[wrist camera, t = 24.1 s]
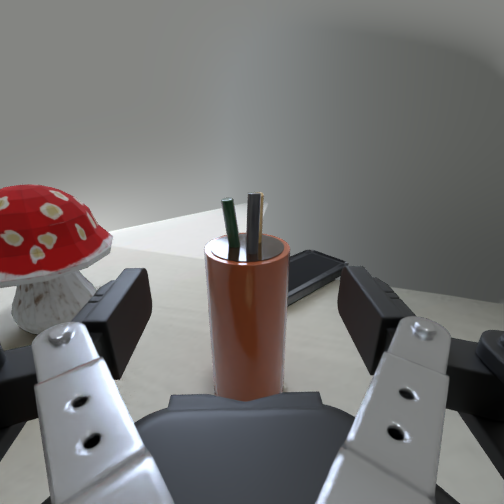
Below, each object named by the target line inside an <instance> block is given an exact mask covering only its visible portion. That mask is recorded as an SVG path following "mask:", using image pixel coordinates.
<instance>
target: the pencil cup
mask: <svg viewBox="0 0 504 504" xmlns="http://www.w3.org/2000/svg"><path fill="white" fill-rule="evenodd" d="M263 201H264V195H263V193H260V192H255V193H254V192H250V193H248V201H247V231H246V233H239V232H238V225H237V219H236V212H235V206H234V199H233V198H224V199H222V200H221V204H222V209H223V215H224V221H225V227H226V233H227V235H224V236H221V237H218V238H215V239H213V240H211V241H210V242H208V243H207V244H206V246H205V248H204V255H205V269H206V282H207V296H208V310H209V323H210V337H211V350H212V364H213V378H214V390H215V394H216V396H219V397H224V398H229V399H234V400H238V401H244V402H246V401H252V400H256V399H259V398H263V397H267V396H271V395H275V394H279V393H282V391H283V380H284V361H285V341H286V322H287V302H288V283H289V263H290V247H289V244H288V243H287V242H285V241H284V240H282V239H280V238H278V237H275V236H271V235H267V234H262V223H263Z"/></svg>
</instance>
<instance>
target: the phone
mask: <svg viewBox="0 0 504 504" xmlns="http://www.w3.org/2000/svg"><path fill="white" fill-rule="evenodd" d="M344 266H348V263H347V262H346V261H343V260H340V259H337V258H334V257H331V256H328V255H326V254H323V253H320V252H318V251H315V250H305V251H303V252H300V253H298V254H296V255H293V256H291V257H290V263H289V283H288V302H287V305H290V304H292V303H293V302H295V301H297V300H299V299H300V298H302V297H304V296H306V295H307V294H309V293H311V292H313V291H315V290H316V289H318V288H320V287H322V286H323V285H325V284H327V283H329V282H330V281H332V280H334V279H336V278H337V277H339V276H341V272H342V268H343V267H344Z"/></svg>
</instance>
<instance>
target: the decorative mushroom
mask: <svg viewBox="0 0 504 504" xmlns="http://www.w3.org/2000/svg"><path fill="white" fill-rule="evenodd" d="M112 239H113V236H112V235H111V234H110V233H108V232H107V231H106V230H105V229H103V228H102V227H101V226H100V225H98V223H97V221H96V219H95V218H94V216H93V214H92V213H91V211H90V209H89V208H88V207H87V206H86V205H84V204H83V203H82V202H81V201H79V200H78V199H77V198H76V197H74V196H71V195H69V194H67V193H65V192H63V191H61V190H59V189H55V188H52V187H47V186H42V185H36V184H28V185H17V186H10V187H5V188H2V189H0V288H4V287H11V286H17V289H16V294H15V297H14V300H13V303H12V316H13V318H14V320H15V322H16V323H17V324H18V326H19V327H20V328H21V329H23V330H25V331H28V332H30V333H32V334H40V333H41V332H43V331H44V330H46V329H48V328H50V327H52V326H55V325H58V324H61V323H66V322H70V321H71V320H72V319H73V318H74V317H75V316H76V315H77V313H78V312H79V311H80V310H81V309H82V308H83V307H84V305H85V304H86V303H88V301H89V300H90V299H91V297H93V296H94V294H95V293H96V292H97V291H96V289H95V288H94V286H93V285H92V283H90V282H89V281H88V280H87V279H86V278H85V277H84V276H83V275H82V274H81V273H80V271H79V270H82V269H85V268H88V267H89V266H91V265H92V264H94V263H95V262H97V261H98V260H100V259H102V258H103V257H105V256H106V255H108V254H109V253H110V249H111V244H112Z"/></svg>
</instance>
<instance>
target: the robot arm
mask: <svg viewBox="0 0 504 504" xmlns="http://www.w3.org/2000/svg"><path fill="white" fill-rule="evenodd" d="M338 311H339V314H340V316H341V318H342V320H343V322H344V324H345V326H346V328H347V330H348V332H349V334H350V336H351V338H352V340H353V342H354V344H355V346H356V348H357V350H358V352H359V354H360V356H361V357H362V359H363V361H364V363H365V365H366V367H367V369H368V371H369V373H370V375H374V376H373V378H372V381H371V383H370V385H369V388H368V390H367V392H366V395H365V397H364V399H363V402H362V404H361V406H360V408H359V411H358V413H357V415H356V418H355V417H354V416H352V415H350V414H348V413H346V412H344V411H342V410H340V409H337V408H335V407H332V406H328V405H324V404H322V400H321V397H320V393H319V392H283V393H279V394H275V395H271V396H267V397H263V398H259V399H256V400H252V401H246V402H244V401H238V400H234V399H229V398H224V397H219V396H214V395H210V394H192V395H171V398H170V401H169V405H168V408H165V409H162V410H159V411H156V412H153V413H151V414H149V415H147V416H145V417H143V418H142V419H140V420H138V421H137V422H135V423H134V422H133V420H132V418H131V416H130V414H129V412H128V410H127V407H126V405H125V403H124V401H123V399H122V397H121V395H120V392H119V390H118V388H117V386H116V384H115V382H114V380H120V378H121V376H122V374H123V372H124V370H125V368H126V366H127V364H128V362H129V360H130V358H131V356H132V354H133V352H134V350H135V347H136V345H137V343H138V341H139V339H140V337H141V335H142V333H143V331H144V329H145V327H146V325H147V323H148V321H149V318H150V316H151V313H152V298H151V292H150V286H149V280H148V274H147V271H146V269H145V268H126V269H124V270H123V272H122V273H121V274H120V275H119V276H118V278H117V279H116V280H113V281H110V282H108V283H107V284H105V285H103V286H102V287H100V288H99V289H98V291H97V292H96V293H95V294H94V296H93V297H91V299H90V300H89V301H88V303H86V304H85V305H84V307H83V308H82V309H81V310H80V311H79V312H78V313H77V315H76V316H75V317H74V318H73V319H72V320H71V321H70V322H66V323H61V324H58V325H55V326H52V327H50V328H48V329H46V330H44V331H43V332H41V333H40V334H39V335H37V336H36V338H35V339H34V340H33V342H32V345H29V346H25V347H20V348H15V349H11V350H6V351H3V349H2V347H1V344H0V461H1V460H2V458H3V457H4V455H5V454H6V452H7V451H8V449H9V448H10V446H11V445H12V443H13V442H14V440H15V439H16V437H17V436H18V434H19V433H20V431H21V430H22V428H23V427H24V425H25V423H26V422H27V421H29V420H33V419H36V418H39V424H40V430H41V437H42V444H43V450H44V457H45V464H46V470H47V477H48V483H49V490H50V496H49V497H48V498H47V499H46V500H45V501H44V502H43V503H41V504H460V503H459V502H457V501H456V500H455V499H454V498H453V497H451V496H450V495H449V494H448V493H447V492H445V491H444V490H443V489H442V488H441V487H440V486H438V485H437V484H436V479H437V472H438V464H439V456H440V448H441V440H442V433H443V425H444V417H445V409H450V410H455V411H458V413H459V414H460V416H461V417H462V419H463V420H464V422H465V423H466V425H467V426H468V428H469V429H470V431H471V432H472V434H473V435H474V437H475V438H476V439H477V441H478V442H479V444H480V445H481V447H482V448H483V450H484V451H485V453H486V454H487V456H488V457H489V459H490V460H491V462H492V463H493V465H494V466H495V468H496V469H497V470H498V472H499V473H500V475H501V476H502V478H503V479H504V331H499V330H488V331H485V332H483V333H482V335H481V337H480V340H479V342H478V343H477V342H471V341H466V340H461V339H455V338H451V335H450V333H449V332H448V330H447V329H446V328H444V327H443V326H442V325H440V324H438V323H437V322H435V321H432V320H430V319H427V318H423V317H417V316H416V315H415V314H414V313H413V312H412V311H411V310H410V309H409V308H408V306H407V305H406V304H405V303H404V302H403V301H402V300H401V299H399V297H398V295H397V294H396V293H394V291H393V290H392V289H391V288H390V287H389V285H388V284H386V283H385V282H383V281H381V280H380V279H378V278H373V277H372V276H371V275H370V274H369V272H367V270H366V269H365V268H364V267H363V266H344V267H343V268H342V272H341V278H340V286H339V293H338Z"/></svg>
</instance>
